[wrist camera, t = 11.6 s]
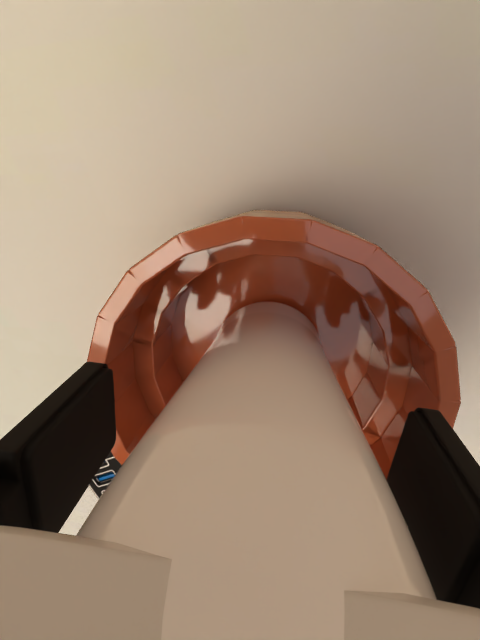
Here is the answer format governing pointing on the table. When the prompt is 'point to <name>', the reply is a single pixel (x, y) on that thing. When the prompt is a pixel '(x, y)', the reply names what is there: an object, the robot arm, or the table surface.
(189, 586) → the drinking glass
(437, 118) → the table surface
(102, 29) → the table surface
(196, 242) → the bowl
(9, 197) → the table surface
